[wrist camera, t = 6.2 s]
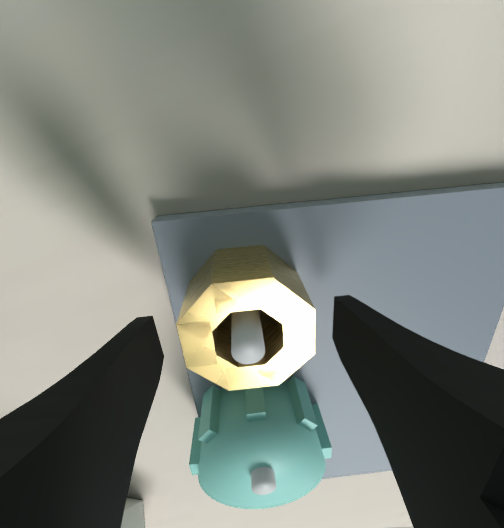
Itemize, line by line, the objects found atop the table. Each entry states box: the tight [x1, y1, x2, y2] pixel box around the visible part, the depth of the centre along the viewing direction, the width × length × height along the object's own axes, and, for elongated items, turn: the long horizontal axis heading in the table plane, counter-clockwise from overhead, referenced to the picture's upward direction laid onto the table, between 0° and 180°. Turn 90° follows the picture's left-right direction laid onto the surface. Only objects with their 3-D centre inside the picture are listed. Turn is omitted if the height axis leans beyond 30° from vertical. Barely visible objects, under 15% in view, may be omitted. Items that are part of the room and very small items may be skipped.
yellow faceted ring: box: [176, 245, 316, 391], centre depth 12 cm, size 5×5×3 cm
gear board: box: [151, 182, 504, 509], centre depth 14 cm, size 17×20×5 cm
